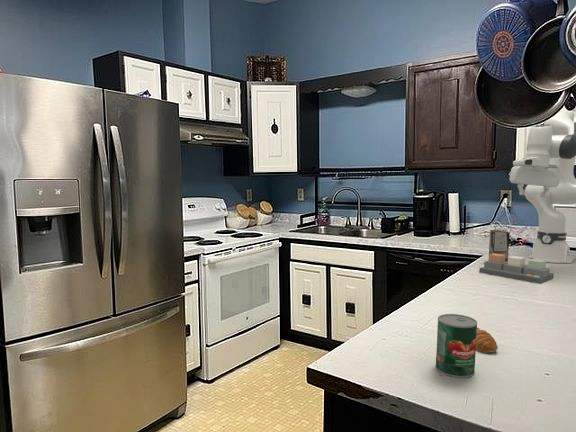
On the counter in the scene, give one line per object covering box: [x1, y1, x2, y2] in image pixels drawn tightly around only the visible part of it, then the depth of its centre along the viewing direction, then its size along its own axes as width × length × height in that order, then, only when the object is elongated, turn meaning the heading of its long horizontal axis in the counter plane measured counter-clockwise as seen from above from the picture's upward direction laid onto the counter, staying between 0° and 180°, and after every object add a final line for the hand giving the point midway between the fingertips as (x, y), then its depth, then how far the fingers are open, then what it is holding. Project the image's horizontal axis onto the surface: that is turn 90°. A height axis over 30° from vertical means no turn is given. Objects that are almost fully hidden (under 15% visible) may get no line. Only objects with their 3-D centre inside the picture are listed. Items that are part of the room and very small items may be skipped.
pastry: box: [476, 327, 499, 354], centre depth 105 cm, size 9×7×4 cm
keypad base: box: [478, 259, 555, 285], centre depth 180 cm, size 14×24×4 cm, turn 40°
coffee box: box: [488, 229, 510, 262], centre depth 199 cm, size 9×6×16 cm
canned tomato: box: [435, 313, 478, 379], centre depth 92 cm, size 8×8×11 cm
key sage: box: [527, 258, 547, 270], centre depth 173 cm, size 5×5×4 cm
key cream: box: [508, 255, 526, 267], centre depth 179 cm, size 5×5×4 cm
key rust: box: [488, 253, 505, 264], centre depth 185 cm, size 5×5×4 cm
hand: (532, 196), depth 180 cm, fingers open, 8 cm apart
